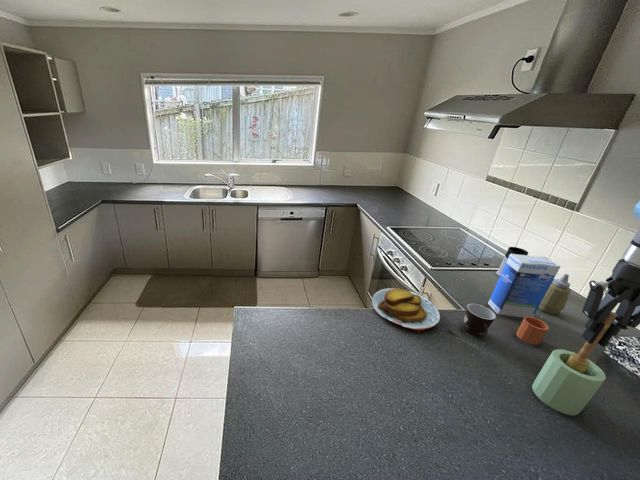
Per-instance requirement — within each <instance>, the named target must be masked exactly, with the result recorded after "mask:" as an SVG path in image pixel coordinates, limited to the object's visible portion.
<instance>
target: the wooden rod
mask: <svg viewBox="0 0 640 480" xmlns="http://www.w3.org/2000/svg"><path fill="white" fill-rule="evenodd" d="M616 317H617V314H615V312H614V311H611V312H610V314H609V315H608V316H607V317H606V318H605V319H604V321H603V323H604V324H605V326H604V327H603V329H602V330H601V332H600V333H599V335H598V336H597V338H596V339H595V340H594V342H593V343H592V344H591V343H588V342H587V341H586V340H585V342H584V344H583V345H582V347H581V348H580V350H579V352H578V353H576V354H572V355H571V356H570V357H569V359H568V361H567V362H566V365H567V366H568V367H570V368H571V369H573V370H575V371H577V372H579V373H582V374H583V373H584V372H585V371H586V369H587V368H588V366H589V365H590V362H589V361H588V360H589V357H590V356H591V354H592V353H593V351H594V350H595V348H596V347H597V346H598V345H599V341H600V340H601V338H602V337H603V335H604V334H605V333H606V331H607V330H608V328H609V327H610V325H611V324H612V322H613V321H614V320H615V318H616ZM577 354H578V355H577ZM587 359H588V360H587Z"/></svg>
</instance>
